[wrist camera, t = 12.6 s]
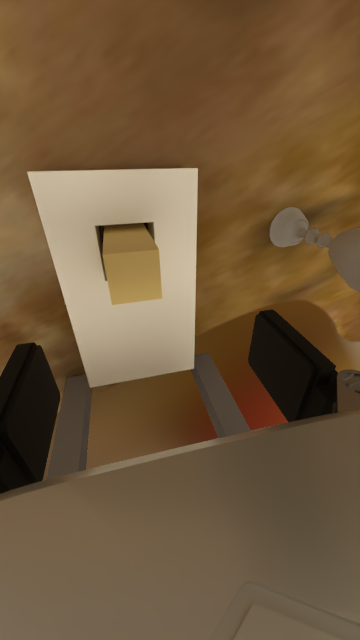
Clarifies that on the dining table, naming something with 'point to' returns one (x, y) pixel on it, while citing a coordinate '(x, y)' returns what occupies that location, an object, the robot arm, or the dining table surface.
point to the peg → (131, 263)
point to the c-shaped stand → (76, 416)
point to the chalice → (320, 242)
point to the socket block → (90, 276)
